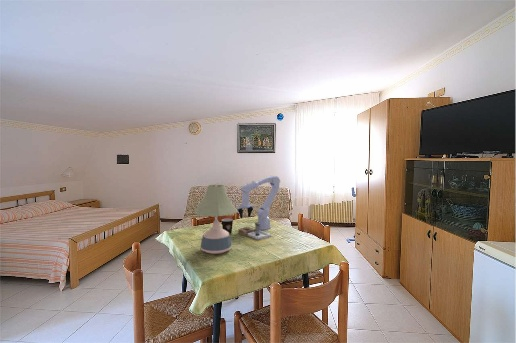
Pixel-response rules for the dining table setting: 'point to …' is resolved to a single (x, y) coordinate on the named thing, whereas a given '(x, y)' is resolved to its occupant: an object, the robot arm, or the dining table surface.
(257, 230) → the pin
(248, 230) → the hitch block
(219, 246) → the desk lamp
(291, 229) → the dining table surface
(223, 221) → the coffee mug
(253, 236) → the tray
